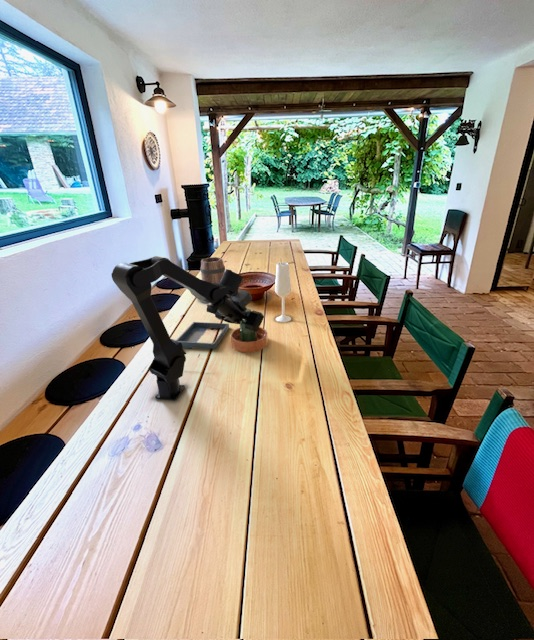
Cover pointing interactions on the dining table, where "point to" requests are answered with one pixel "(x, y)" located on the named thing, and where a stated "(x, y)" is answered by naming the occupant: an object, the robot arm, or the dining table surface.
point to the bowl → (249, 346)
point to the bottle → (247, 331)
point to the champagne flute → (283, 287)
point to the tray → (195, 333)
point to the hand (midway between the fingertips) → (250, 325)
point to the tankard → (212, 270)
